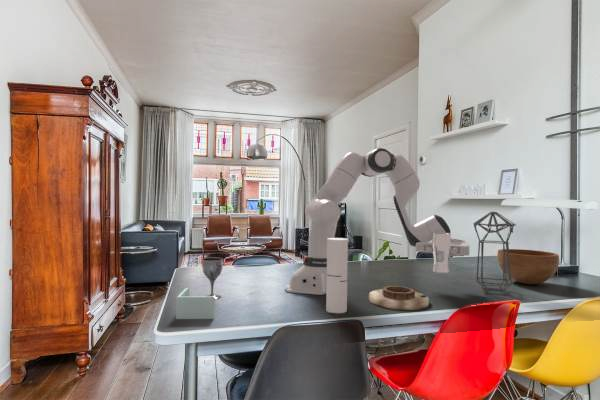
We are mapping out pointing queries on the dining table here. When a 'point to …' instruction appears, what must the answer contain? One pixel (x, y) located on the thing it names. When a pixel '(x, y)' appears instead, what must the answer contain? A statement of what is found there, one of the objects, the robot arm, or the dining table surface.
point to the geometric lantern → (503, 251)
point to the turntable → (398, 298)
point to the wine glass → (212, 270)
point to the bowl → (530, 265)
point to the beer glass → (441, 251)
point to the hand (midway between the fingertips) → (441, 250)
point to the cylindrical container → (336, 275)
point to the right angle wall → (194, 306)
